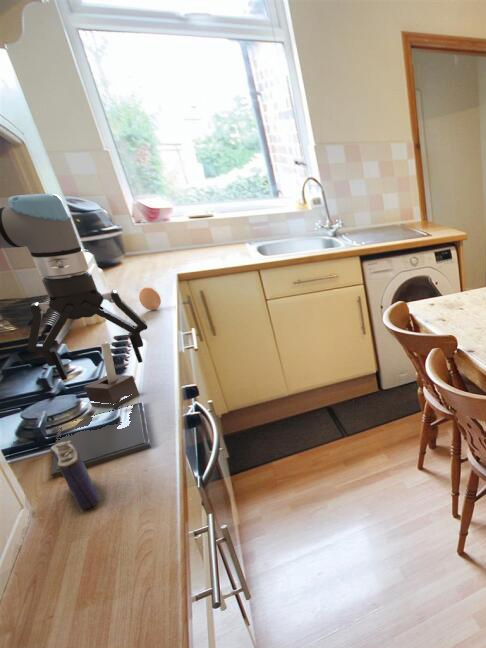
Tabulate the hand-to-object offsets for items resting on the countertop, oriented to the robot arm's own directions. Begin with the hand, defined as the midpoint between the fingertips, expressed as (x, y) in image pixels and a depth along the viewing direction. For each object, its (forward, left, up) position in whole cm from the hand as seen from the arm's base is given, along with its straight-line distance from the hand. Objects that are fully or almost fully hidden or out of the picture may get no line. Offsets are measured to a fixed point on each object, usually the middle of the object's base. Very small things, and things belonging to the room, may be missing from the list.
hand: (104, 368), depth 103 cm
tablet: (+11, -13, -8) cm, 19 cm away
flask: (+24, -28, -8) cm, 38 cm away
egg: (-45, +56, -8) cm, 72 cm away
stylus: (0, 0, -8) cm, 8 cm away
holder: (0, 0, -8) cm, 8 cm away
